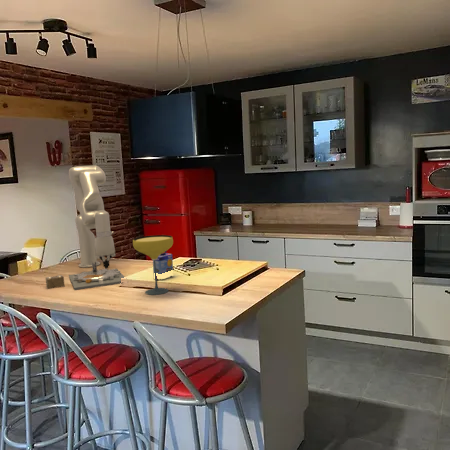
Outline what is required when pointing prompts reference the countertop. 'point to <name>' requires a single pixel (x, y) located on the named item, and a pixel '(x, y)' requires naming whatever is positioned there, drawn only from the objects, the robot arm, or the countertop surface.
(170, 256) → the ink cartridge box
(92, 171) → the robot arm
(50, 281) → the brown rectangular block
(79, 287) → the sprocket base
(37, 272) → the countertop surface
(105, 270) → the sprocket
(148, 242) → the cocktail glass
